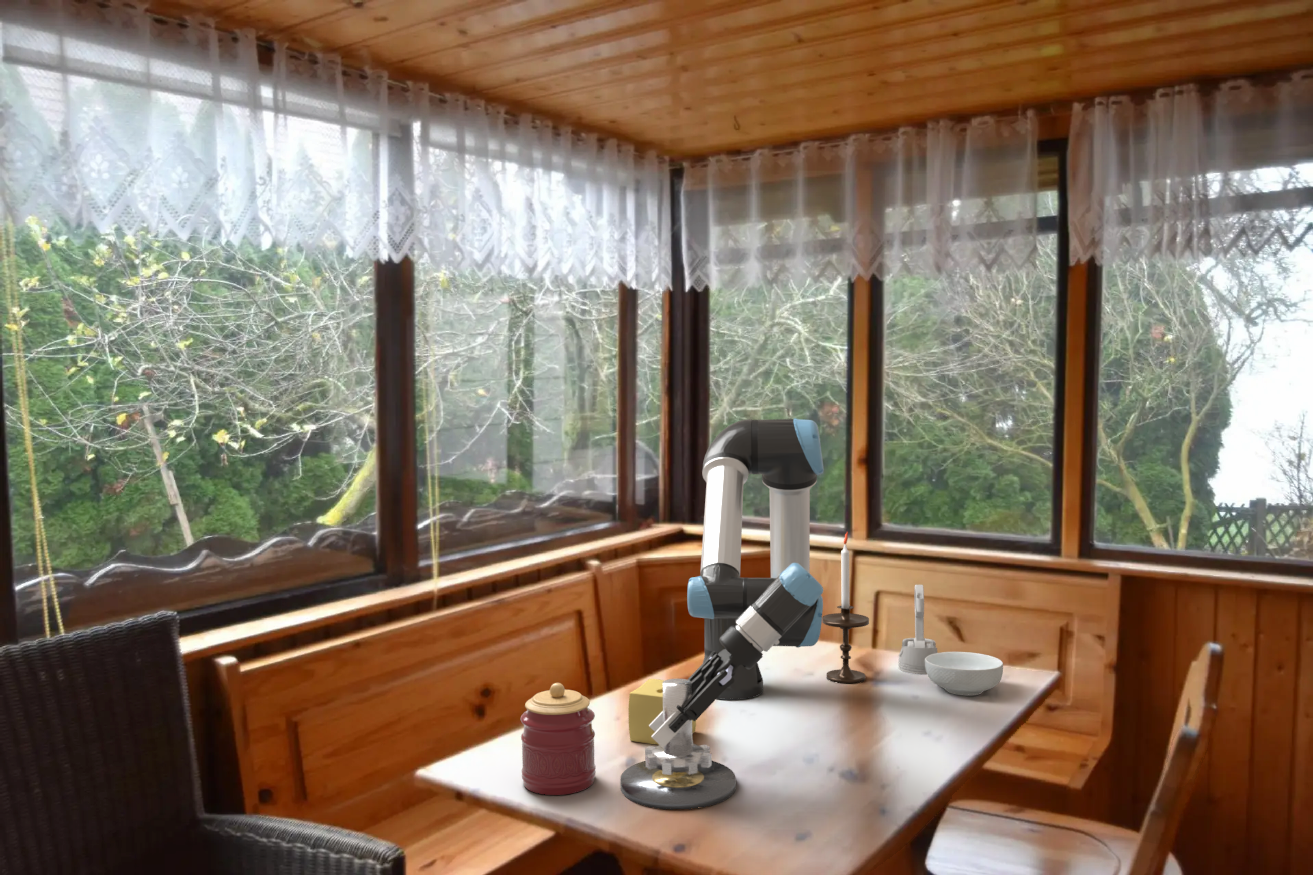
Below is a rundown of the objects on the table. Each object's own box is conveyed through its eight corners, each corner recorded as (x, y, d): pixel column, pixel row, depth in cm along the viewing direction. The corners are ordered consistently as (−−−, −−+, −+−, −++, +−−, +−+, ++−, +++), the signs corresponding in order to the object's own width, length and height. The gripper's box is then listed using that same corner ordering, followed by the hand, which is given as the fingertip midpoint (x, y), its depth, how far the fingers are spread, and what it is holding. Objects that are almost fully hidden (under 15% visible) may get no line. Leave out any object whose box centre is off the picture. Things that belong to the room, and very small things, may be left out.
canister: (528, 768, 183) (526, 673, 182) (599, 768, 183) (597, 672, 182) (516, 796, 170) (514, 694, 169) (592, 796, 170) (590, 694, 169)
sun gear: (634, 757, 176) (632, 678, 176) (693, 746, 181) (692, 670, 181) (661, 779, 166) (660, 696, 165) (723, 767, 171) (722, 686, 170)
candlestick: (851, 669, 245) (850, 527, 243) (878, 681, 235) (878, 532, 233) (813, 675, 241) (812, 530, 239) (839, 687, 231) (838, 536, 229)
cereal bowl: (1011, 686, 229) (1011, 656, 229) (992, 706, 215) (992, 673, 215) (937, 676, 239) (937, 646, 238) (915, 694, 225) (915, 663, 224)
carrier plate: (603, 775, 179) (603, 767, 179) (703, 757, 187) (702, 749, 187) (649, 818, 161) (648, 808, 161) (757, 796, 169) (757, 786, 169)
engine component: (899, 673, 241) (942, 675, 239) (899, 589, 240) (942, 590, 238) (897, 661, 252) (938, 663, 250) (897, 580, 251) (938, 581, 249)
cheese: (696, 732, 202) (695, 682, 201) (674, 749, 192) (674, 698, 192) (649, 725, 206) (649, 677, 206) (626, 742, 196) (625, 691, 196)
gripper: (774, 667, 165) (676, 770, 164) (755, 640, 183) (666, 733, 182) (742, 636, 164) (643, 739, 164) (726, 612, 182) (637, 705, 182)
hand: (656, 736), depth 173 cm, fingers closed on sun gear, 5 cm apart
